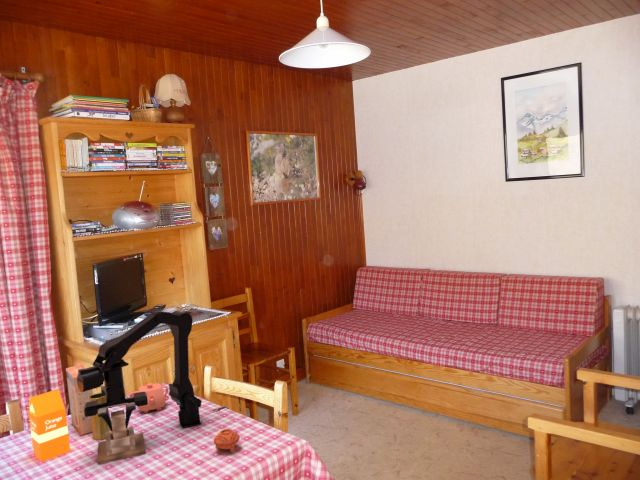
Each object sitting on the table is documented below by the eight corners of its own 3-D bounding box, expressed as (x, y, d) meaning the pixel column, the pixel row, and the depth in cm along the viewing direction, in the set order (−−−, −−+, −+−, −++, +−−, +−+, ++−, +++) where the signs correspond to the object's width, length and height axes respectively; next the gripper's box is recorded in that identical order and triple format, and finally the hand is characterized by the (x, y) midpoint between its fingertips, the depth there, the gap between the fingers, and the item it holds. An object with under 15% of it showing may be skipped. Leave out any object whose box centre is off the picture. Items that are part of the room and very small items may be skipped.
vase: (105, 440, 183) (100, 399, 182) (88, 439, 185) (83, 399, 183) (115, 432, 189) (110, 392, 188) (99, 431, 191) (94, 391, 189)
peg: (127, 439, 178) (124, 409, 177) (127, 444, 175) (124, 414, 174) (114, 441, 177) (110, 412, 176) (114, 447, 173) (110, 416, 172)
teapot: (153, 417, 200) (150, 391, 199) (129, 413, 205) (126, 388, 204) (175, 404, 210) (172, 380, 209) (151, 401, 215) (149, 377, 214)
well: (143, 435, 185) (141, 421, 185) (145, 453, 172) (143, 438, 171) (98, 445, 180) (96, 430, 180) (97, 464, 167) (95, 449, 167)
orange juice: (70, 451, 177) (63, 391, 175) (41, 462, 171) (33, 400, 169) (62, 444, 183) (54, 386, 181) (33, 454, 177) (25, 394, 175)
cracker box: (98, 431, 191) (91, 373, 189) (79, 436, 188) (72, 377, 186) (89, 418, 203) (82, 363, 200) (71, 423, 199) (64, 367, 197)
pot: (216, 458, 165) (213, 435, 166) (214, 452, 173) (211, 430, 174) (242, 451, 168) (239, 429, 168) (240, 446, 175) (236, 425, 176)
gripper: (143, 369, 185) (148, 413, 186) (83, 380, 178) (88, 426, 180) (145, 379, 174) (150, 426, 176) (81, 391, 168) (87, 440, 169)
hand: (119, 429), depth 175 cm, fingers closed on peg, 4 cm apart
